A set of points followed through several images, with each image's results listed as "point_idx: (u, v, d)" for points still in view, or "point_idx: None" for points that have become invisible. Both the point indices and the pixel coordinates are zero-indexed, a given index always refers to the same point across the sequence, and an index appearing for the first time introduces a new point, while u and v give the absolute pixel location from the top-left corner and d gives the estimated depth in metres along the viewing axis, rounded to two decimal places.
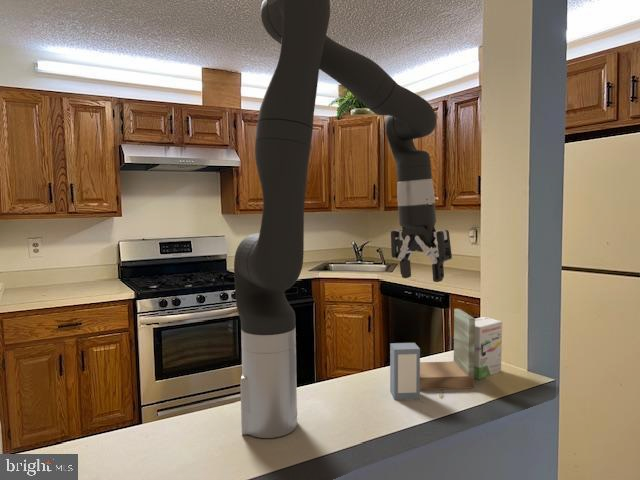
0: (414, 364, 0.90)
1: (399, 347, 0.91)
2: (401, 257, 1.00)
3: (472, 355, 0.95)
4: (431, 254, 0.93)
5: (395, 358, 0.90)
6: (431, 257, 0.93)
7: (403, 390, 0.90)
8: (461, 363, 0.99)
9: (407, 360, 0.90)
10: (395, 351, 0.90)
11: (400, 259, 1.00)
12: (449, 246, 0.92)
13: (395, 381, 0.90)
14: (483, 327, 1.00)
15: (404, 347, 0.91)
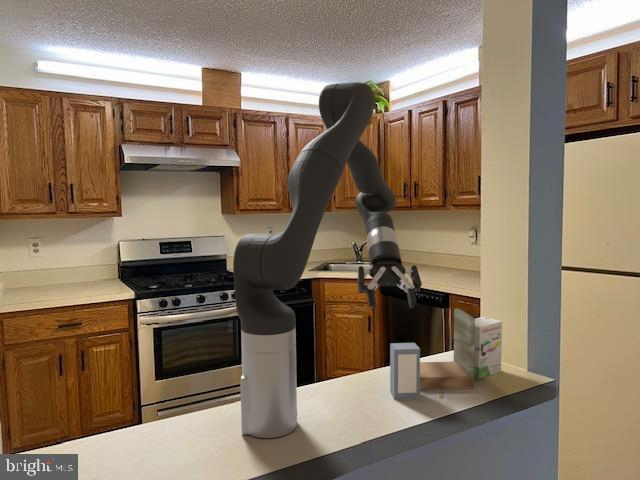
0: (414, 364, 0.90)
1: (399, 347, 0.91)
2: (372, 286, 1.04)
3: (472, 355, 0.95)
4: (407, 281, 1.05)
5: (395, 358, 0.90)
6: (408, 284, 1.05)
7: (403, 390, 0.90)
8: (461, 363, 0.99)
9: (407, 360, 0.90)
10: (395, 351, 0.90)
11: (371, 287, 1.04)
12: None
13: (395, 381, 0.90)
14: (483, 327, 1.00)
15: (404, 347, 0.91)
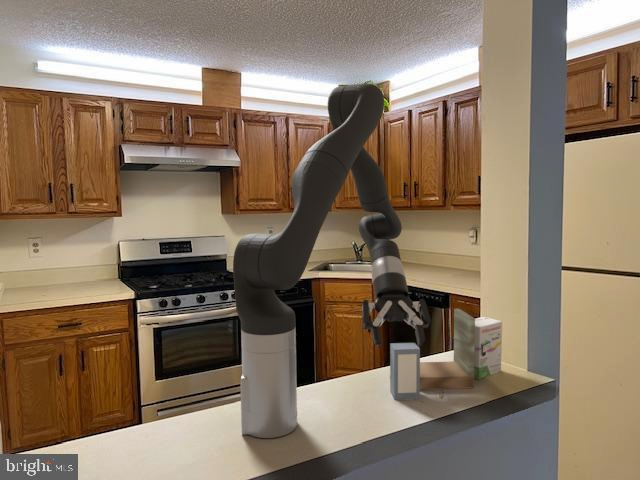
0: (414, 364, 0.90)
1: (399, 347, 0.91)
2: (377, 322, 0.97)
3: (472, 355, 0.95)
4: (415, 317, 0.99)
5: (395, 358, 0.90)
6: (416, 320, 0.98)
7: (403, 390, 0.90)
8: (461, 363, 0.99)
9: (407, 360, 0.90)
10: (395, 351, 0.90)
11: (376, 324, 0.97)
12: None
13: (395, 381, 0.90)
14: (483, 327, 1.00)
15: (404, 347, 0.91)
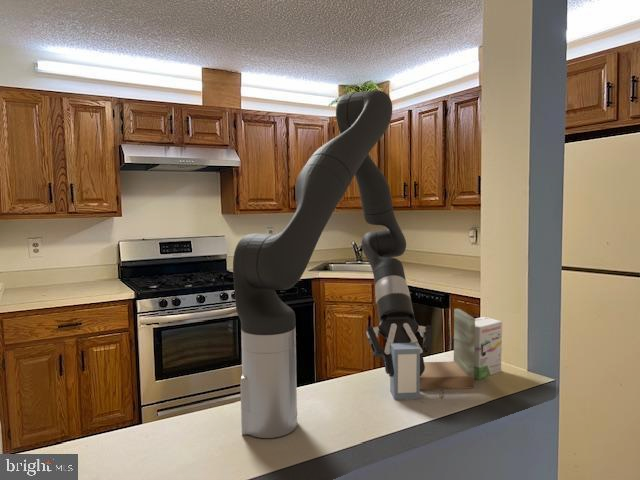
0: (414, 364, 0.90)
1: (399, 347, 0.91)
2: (390, 350, 0.93)
3: (472, 355, 0.95)
4: (417, 344, 0.94)
5: (395, 358, 0.90)
6: None
7: (403, 390, 0.90)
8: (461, 363, 0.99)
9: (407, 360, 0.90)
10: (395, 351, 0.90)
11: (388, 352, 0.93)
12: None
13: (395, 381, 0.90)
14: (483, 327, 1.00)
15: (404, 347, 0.91)
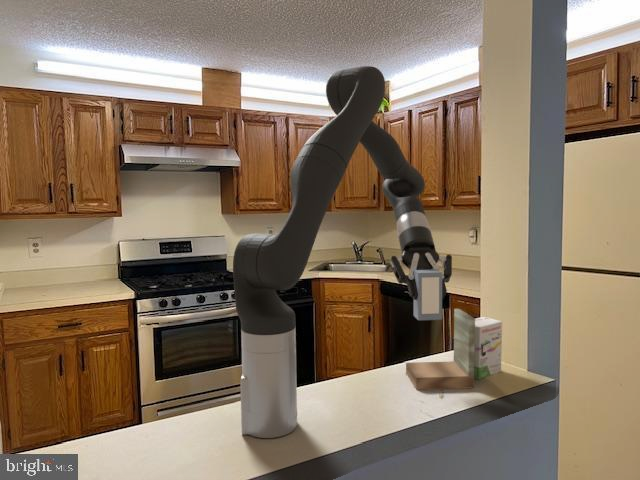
0: (437, 287, 0.96)
1: (423, 271, 0.97)
2: (413, 276, 0.99)
3: (472, 355, 0.95)
4: None
5: (419, 281, 0.96)
6: None
7: (427, 311, 0.96)
8: (461, 363, 0.99)
9: (430, 283, 0.96)
10: (419, 274, 0.96)
11: (412, 277, 0.99)
12: None
13: (419, 303, 0.96)
14: (483, 327, 1.00)
15: (427, 271, 0.97)
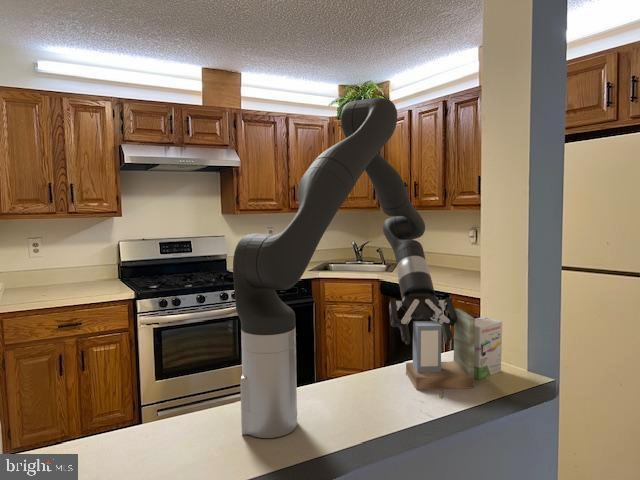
0: (436, 340, 0.97)
1: (422, 324, 0.98)
2: (406, 320, 1.00)
3: (472, 355, 0.95)
4: (442, 315, 1.01)
5: (418, 334, 0.97)
6: (442, 318, 1.01)
7: (426, 363, 0.97)
8: (461, 363, 0.99)
9: (429, 336, 0.97)
10: (418, 327, 0.97)
11: (404, 322, 1.00)
12: None
13: (418, 355, 0.97)
14: (483, 327, 1.00)
15: (426, 324, 0.98)
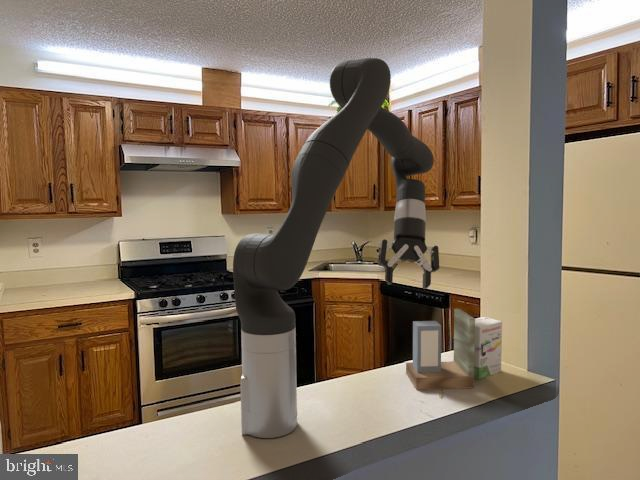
0: (436, 340, 0.97)
1: (422, 324, 0.98)
2: (392, 263, 1.09)
3: (472, 355, 0.95)
4: (426, 263, 1.09)
5: (418, 334, 0.97)
6: (426, 265, 1.09)
7: (426, 363, 0.97)
8: (461, 363, 0.99)
9: (429, 336, 0.97)
10: (418, 327, 0.97)
11: (390, 265, 1.08)
12: None
13: (418, 355, 0.97)
14: (483, 327, 1.00)
15: (426, 324, 0.98)
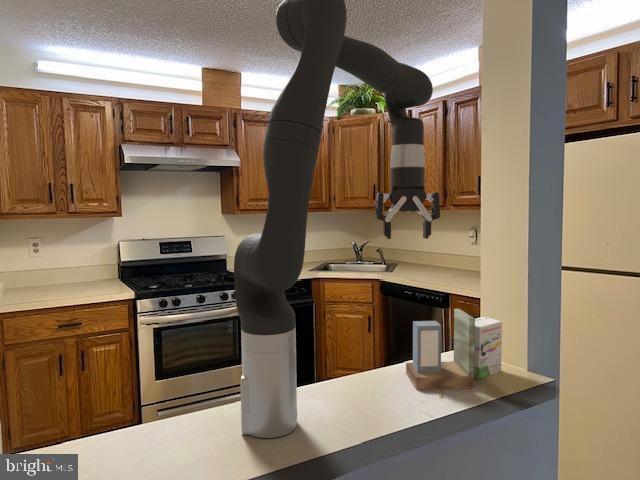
0: (436, 340, 0.97)
1: (422, 324, 0.98)
2: (389, 218, 1.03)
3: (472, 355, 0.95)
4: (426, 213, 1.04)
5: (418, 334, 0.97)
6: (426, 216, 1.04)
7: (426, 363, 0.97)
8: (461, 363, 0.99)
9: (429, 336, 0.97)
10: (418, 327, 0.97)
11: (388, 220, 1.03)
12: None
13: (418, 355, 0.97)
14: (483, 327, 1.00)
15: (426, 324, 0.98)
